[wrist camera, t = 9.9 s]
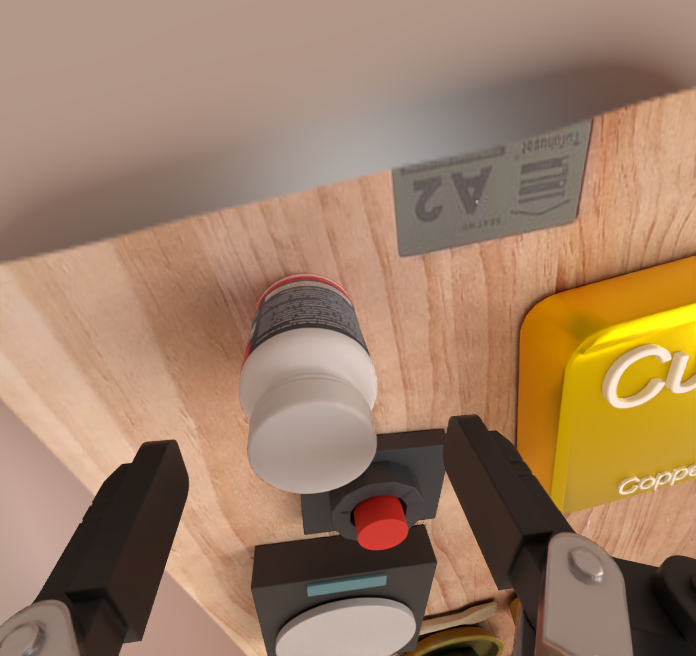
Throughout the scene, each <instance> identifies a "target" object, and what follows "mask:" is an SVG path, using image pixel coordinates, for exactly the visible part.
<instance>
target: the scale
mask: <svg viewBox="0 0 696 656" xmlns="http://www.w3.org/2000/svg"><path fill="white" fill-rule="evenodd" d="M436 565H437V560H436V557H435V554H434V551H433V548H432V545H431V542H430V539H429V536H428V533H427V530H426V527H425V525H419V526H412V527H411V528H410V529H409V530H408V534H407V536H406V538H405V539H404V540H403V541H402V542H401V543H399V544H398V545H396V546H394V547H391V548H388V549H384V550H369V549H366V548H364V547H362V546H361V545H360V544H359V542H358V541H356V540H351V539H346V538H344V537H343V536H334V537H326V538H318V539H311V540H303V541H295V542H287V543H280V544H272V545H264V546H256V547H255V554H254V564H253V573H252V583H251V591H252V595H253V599H254V603H255V607H256V611H257V615H258V619H259V623H260V627H261V631H262V635H263V639H264V643H265V647H266V651H267V655H268V656H389V655H391V654H397V653H403V652H408V651H414V650H416V646H417V642H418V638H419V634H420V629H421V625H422V621H423V617H424V613H425V609H426V605H427V601H428V597H429V593H430V589H431V585H432V581H433V577H434V573H435V569H436Z"/></svg>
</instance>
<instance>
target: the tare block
mask: <svg viewBox="0 0 696 656" xmlns="http://www.w3.org/2000/svg"><path fill="white" fill-rule="evenodd" d="M376 436H377V448H376V453H375V456H374V458H373V460H372V462H371V463H370V465H369V466H368V468H367V469H366V470H365V471H364V472H363V473H362V474H361V475H360V476H359V477H357V478H356V479H354V480H353V481H351V482H349V483H348V484H346V485H344V486H341V487H339V488H336V489H333V490H330V491H326V492H320V493H312V494H301V493H300V494H301V505H302V516H303V528H304V534H305V535H307V534H315V533H322V532H330V531H337V532H338V533H340V534H341V535H342V536H343V537H344V538H346V539H351V540H356V541H358V539H357V532H356V526H355V519H354V509H355V507H356V505H357V504H358V503H359V502H362V501H364V500H366V499H368V498H370V497H373V496H381V495H390V496H394V497H397V498H398V499H399V500H400V502H401V505H402V508H403V512H404V515H405V519H406V522H407V526H408V530H409V529H410V528H411V527H412V526H413V525H414V524H415V523H416V522H417V521H418V520H425V519H433V518H435V516H436V511H437V507H438V502H439V498H440V493H441V488H442V484H443V479H444V475H445V466H444V462H443V448H444V443H445V438H446V433H445V431H444V429H438V430H428V431H417V432H406V433H396V434H385V435H376Z"/></svg>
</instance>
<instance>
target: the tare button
mask: <svg viewBox="0 0 696 656" xmlns="http://www.w3.org/2000/svg"><path fill="white" fill-rule="evenodd" d="M354 519H355V526H356V532H357V539H358V542H359V544H360V545H361V546H362V547H364V548H366V549H369V550H384V549H388V548H391V547H394V546H396V545H398V544H399V543H401V542H402V541H403V540H404V539H405V538H406V536H407V534H408V526H407V522H406V519H405V515H404V512H403V508H402V505H401V502H400V500H399V499H398V498H397V497H394V496H390V495H381V496H373V497H370V498H368V499H366V500H364V501H362V502H359V503H358V504H357V505H356V507H355V509H354Z"/></svg>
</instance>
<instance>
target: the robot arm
mask: <svg viewBox="0 0 696 656" xmlns="http://www.w3.org/2000/svg"><path fill="white" fill-rule="evenodd" d="M443 462H444V466H445V470H446V472H447V475H448V477H449V479H450V482H451V484H452V486H453V488H454V491H455V493H456V495H457V497H458V500H459V502H460V504H461V506H462V509H463V511H464V513H465V515H466V518H467V520H468V522H469V525H470V527H471V529H472V531H473V534H474V536H475V538H476V540H477V543H478V545H479V547H480V549H481V552H482V554H483V556H484V558H485V561H486V563H487V565H488V568H489V570H490V572H491V574H492V577H493V579H494V581H495V583H496V586H497V588H498V590H504V589H511V588H514V590H515V592H516V594H517V596H518V598H519V600H520V602H519V605H518V610H517V619H516V627H515V635H514V644H513V652H512V656H696V559H693V558H690V557H686V556H678V555H675V556H670V557H668V558H667V559H666V560H665V561H664V562H663V563H662V564H661V566H660V567H655V566H650V565H646V564H641V563H637V562H632V561H627V560H623V559H618V558H615V557H612V556H610V555H609V554H608V553H607V552H606V551H605V550H604V549H603V548H602V547H600V546H599V545H598V544H597V543H595V542H593V541H592V540H590V539H588V538H586V537H584V536H582V535H579V534H577V533H576V532H575V531H574V530H573V529H572V528H571V526H570V525H569V524H568V522H567V521H566V519H565V518H564V516H563V515H562V514H561V512H560V511H559V509H558V508H557V506H556V505H555V504H554V502H553V501H552V499H551V498H550V497H549V495H548V494H547V492H546V491H545V489H544V488H543V487H542V485H541V484H540V482H539V481H538V479H537V478H536V477H535V475H533V474H532V471H531V469H530V468H529V467H528V465H527V464H526V462H524V461H523V458H522V457H521V455H520V454H519V452H518V451H517V450H516V448H515V447H514V445H513V444H512V443H511V442H510V441H509V440H508V439H506V438H505V437H504V436H503V435H501V434H500V433H499V432H498V431H496V430H495V431H488V429H487V428H486V426H485V425H484V423H483V422H482V420H481V419H480V417H479V416H478V415H476V414H473V415H461V416H452V417H450V419H449V423H448V428H447V433H446V438H445V443H444V448H443ZM188 490H189V478H188V473H187V470H186V467H185V464H184V461H183V458H182V455H181V452H180V449H179V446H178V443H177V441H176V440H162V441H150V442H144V443H143V444H142V445H141V447H140V448H139V450H138V452H137V454H136V456H135V458H134V460H133V462H132V463H128V464H122V465H120V466H119V467H118V468H117V469H116V470H115V471H114V472H113V473H112V474H111V475H110V476H109V477H108V478H107V479H106V480H105V481H104V482H103V484H102V486H101V488H100V489H99V491H98V493H97V495H96V496H95V498H94V500H93V501H92V503H93V504H92V506H90V507H89V508H88V510H87V512H86V514H85V515H84V517H83V521H82V523H80V524H79V526H78V527H77V529H76V531H75V533H74V535H73V536H72V538H71V540H70V541H69V543H68V545H67V547H66V548H65V550H64V552H63V553H62V555H61V557H60V559H59V560H58V562H57V564H56V566H55V567H54V569H53V571H52V572H51V574H50V576H49V578H48V579H47V581H46V583H45V585H44V586H43V588H42V590H41V591H40V593H39V595H38V596H37V598H36V599H35V600H34V602H33V603H32V604H31V605H30V606H28V607H26V608H24V609H22V610H21V611H19V612H18V613H16V614H15V615H13V616H12V617H10V618H9V619H8V620H7V621H5V622H4V623H3V624H2V625H1V626H0V656H119V652H120V650H121V647H122V644H123V643H130V642H136V641H142V638H143V634H144V631H145V628H146V625H147V622H148V619H149V616H150V613H151V609H152V606H153V603H154V600H155V597H156V594H157V590H158V587H159V584H160V581H161V578H162V575H163V572H164V569H165V565H166V562H167V559H168V556H169V553H170V550H171V547H172V543H173V540H174V537H175V534H176V531H177V528H178V525H179V521H180V518H181V515H182V512H183V509H184V506H185V503H186V499H187V496H188Z"/></svg>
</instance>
